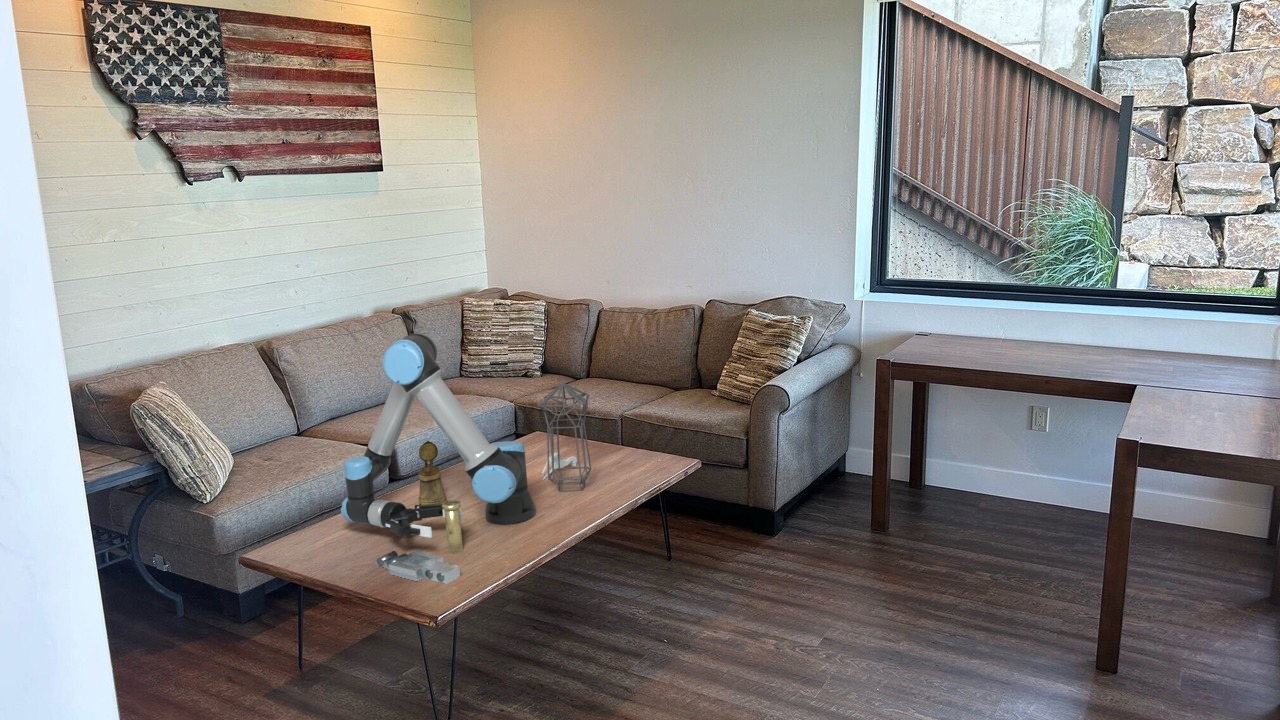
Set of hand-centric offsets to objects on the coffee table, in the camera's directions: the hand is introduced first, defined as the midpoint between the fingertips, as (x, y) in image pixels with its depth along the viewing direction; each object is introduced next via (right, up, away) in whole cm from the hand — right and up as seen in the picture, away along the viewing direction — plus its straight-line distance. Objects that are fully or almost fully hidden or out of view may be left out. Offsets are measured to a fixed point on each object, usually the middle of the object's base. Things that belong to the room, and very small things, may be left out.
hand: (446, 523), depth 258 cm
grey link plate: (-6, -11, -11) cm, 17 cm away
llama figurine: (+26, +6, +64) cm, 70 cm away
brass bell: (-14, 0, +44) cm, 46 cm away
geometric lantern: (+31, +3, +50) cm, 59 cm away
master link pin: (+2, -8, +1) cm, 8 cm away
